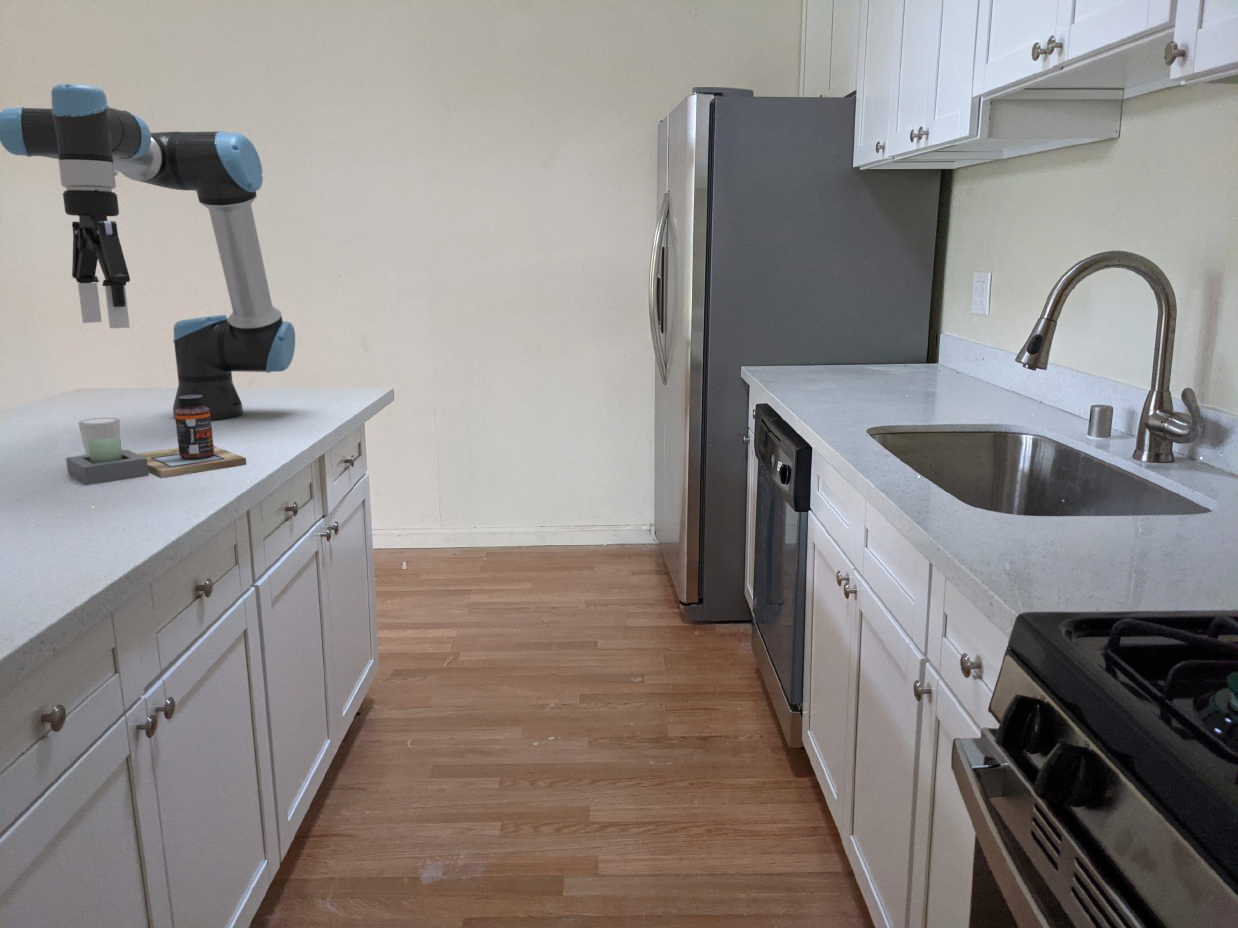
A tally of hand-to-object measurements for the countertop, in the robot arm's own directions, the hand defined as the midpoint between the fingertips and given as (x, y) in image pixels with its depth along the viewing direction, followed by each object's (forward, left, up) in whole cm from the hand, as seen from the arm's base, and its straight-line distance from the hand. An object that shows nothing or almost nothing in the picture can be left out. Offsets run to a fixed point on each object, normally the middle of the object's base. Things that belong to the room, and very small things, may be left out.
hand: (105, 325), depth 151 cm
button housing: (-8, 0, -27) cm, 28 cm away
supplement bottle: (-7, +15, -26) cm, 30 cm away
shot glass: (-24, +4, -27) cm, 36 cm away
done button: (-8, 0, -26) cm, 27 cm away
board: (-8, +14, -27) cm, 31 cm away
